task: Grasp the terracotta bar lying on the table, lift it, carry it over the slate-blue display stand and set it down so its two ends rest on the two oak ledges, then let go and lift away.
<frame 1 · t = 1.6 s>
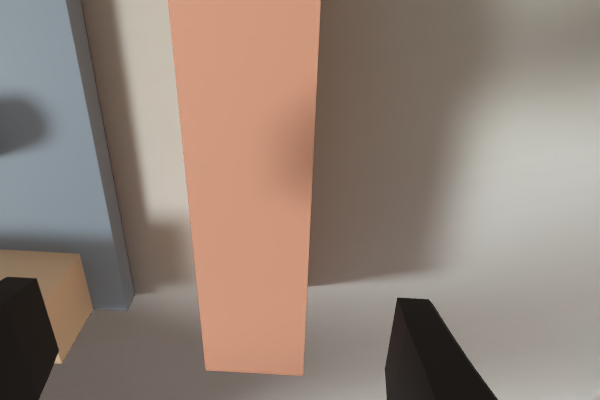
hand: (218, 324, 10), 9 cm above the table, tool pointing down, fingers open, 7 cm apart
terracotta bar: (267, 135, 18), on the table
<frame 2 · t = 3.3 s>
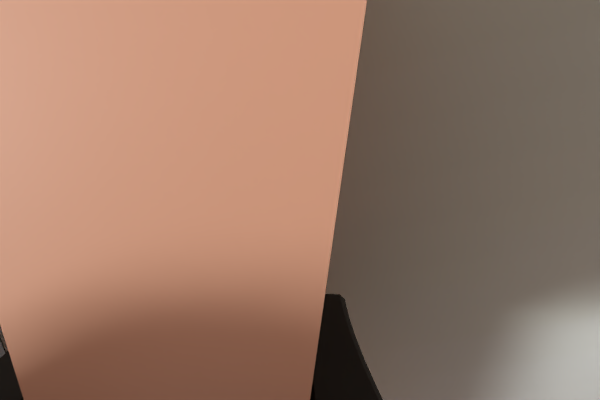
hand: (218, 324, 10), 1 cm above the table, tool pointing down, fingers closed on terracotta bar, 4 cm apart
terracotta bar: (230, 276, 11), on the table, touching gripper
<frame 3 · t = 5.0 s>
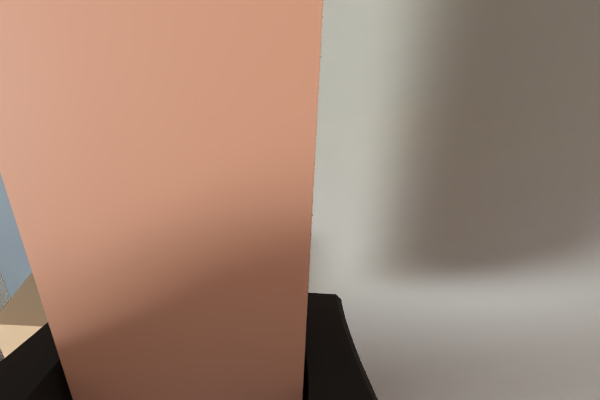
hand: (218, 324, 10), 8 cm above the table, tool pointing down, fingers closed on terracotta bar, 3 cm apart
display stand: (98, 140, 17), on the table
terracotta bar: (238, 251, 12), point 6 cm above the table, touching gripper
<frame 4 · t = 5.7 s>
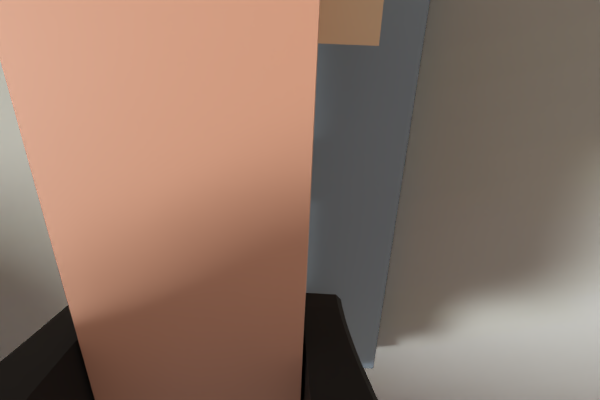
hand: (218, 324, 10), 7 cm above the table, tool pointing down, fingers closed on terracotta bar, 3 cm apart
display stand: (258, 168, 16), on the table
terracotta bar: (240, 239, 13), point 4 cm above the table, touching display stand, gripper
when the fingers open (7 cm above the table, at t = 6.5 s): terracotta bar stays where it is, resting on display stand.
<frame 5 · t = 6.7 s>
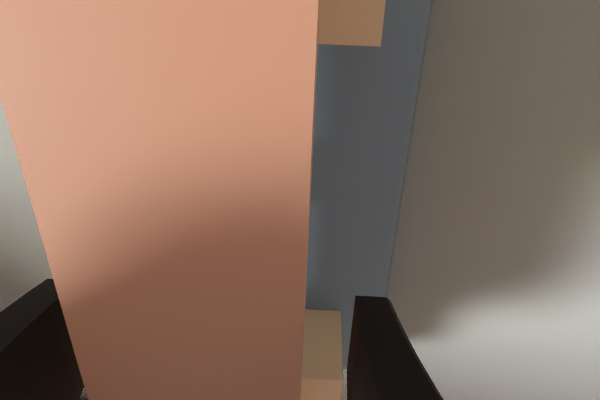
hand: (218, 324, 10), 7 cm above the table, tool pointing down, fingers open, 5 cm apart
display stand: (258, 169, 16), on the table
terracotta bar: (239, 242, 13), point 4 cm above the table, touching display stand
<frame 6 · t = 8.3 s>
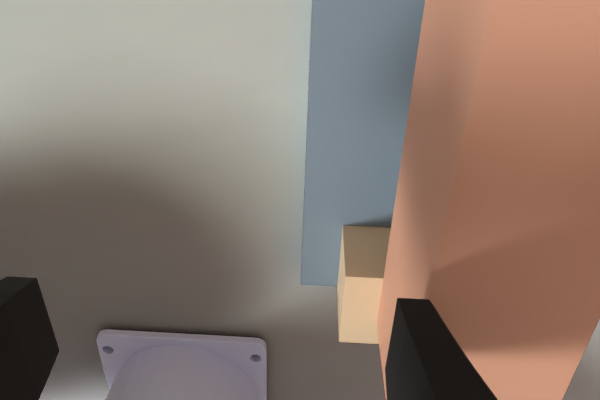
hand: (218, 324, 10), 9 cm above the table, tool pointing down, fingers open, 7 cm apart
display stand: (440, 92, 17), on the table
terracotta bar: (468, 140, 14), point 4 cm above the table, touching display stand
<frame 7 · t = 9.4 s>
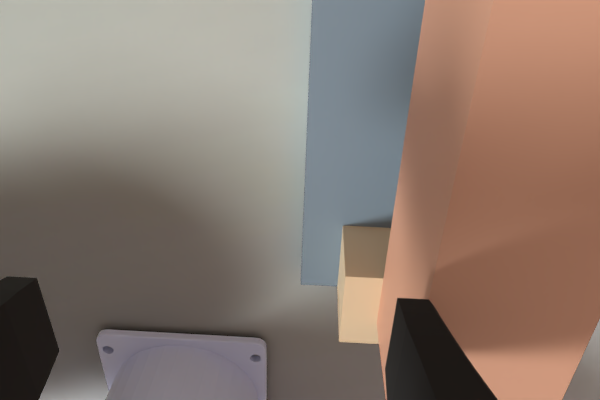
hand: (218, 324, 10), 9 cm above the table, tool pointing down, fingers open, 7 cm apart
display stand: (440, 92, 17), on the table
terracotta bar: (468, 140, 14), point 4 cm above the table, touching display stand
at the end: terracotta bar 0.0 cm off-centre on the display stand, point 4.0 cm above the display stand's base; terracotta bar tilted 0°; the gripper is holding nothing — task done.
